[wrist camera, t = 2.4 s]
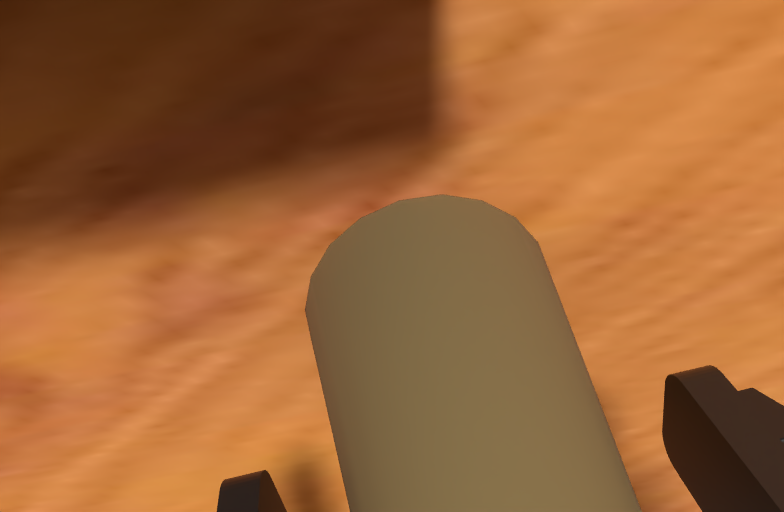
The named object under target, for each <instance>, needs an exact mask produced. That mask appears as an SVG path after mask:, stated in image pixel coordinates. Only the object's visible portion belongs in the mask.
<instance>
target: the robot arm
mask: <svg viewBox="0 0 784 512" xmlns="http://www.w3.org/2000/svg"><path fill="white" fill-rule="evenodd" d="M662 435H663V441H664V445H665V448H666V451H667V454H668V457H669V459H670V461H671V463H672V465H673V467H674V468H675V470H676V471H677V473H678V474H679V476H680V478H681V479H682V481H683V482H684V484H685V485H686V487H687V488H688V490H689V491H690V493H691V495H692V496H693V498H694V499H695V501H696V502H697V504H698V505H699V507H700V508H701V510H702V512H784V406H783V405H781V404H779V403H778V402H776V401H774V400H773V399H771V398H769V397H768V396H766V395H764V394H762V393H761V392H759V391H757V390H756V389H754V388H749V389H745V390H741V391H737V390H736V388H735V387H734V386H733V385H732V384H731V383H730V382H729V380H728V379H727V378H726V377H725V376H724V375H723V374H722V373H721V372H720V371H719V370H718V369H717V368H716V367H714V366H711V365H709V366H704V367H700V368H696V369H692V370H687V371H683V372H679V373H675V374H671V375H668V376H667V378H666V380H665V393H664V410H663V428H662ZM217 512H287V511H286V509H285V507H284V504H283V502H282V500H281V498H280V496H279V494H278V492H277V489H276V487H275V485H274V483H273V481H272V479H271V477H270V475H269V473H268V472H267V471H266V470H263V471H259V472H254V473H250V474H246V475H242V476H238V477H234V478H229V479H225V480H224V481H223V482H222V484H221V487H220V492H219V499H218V506H217Z"/></svg>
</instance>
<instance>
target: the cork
mask: <svg viewBox="0 0 784 512" xmlns="http://www.w3.org/2000/svg"><path fill="white" fill-rule="evenodd" d="M305 312H306V317H307V322H308V326H309V331H310V336H311V340H312V345H313V349H314V354H315V358H316V362H317V367H318V371H319V376H320V380H321V385H322V389H323V393H324V398H325V402H326V407H327V411H328V415H329V420H330V424H331V429H332V433H333V438H334V442H335V446H336V451H337V455H338V460H339V464H340V468H341V473H342V477H343V482H344V486H345V491H346V495H347V499H348V504H349V508H350V512H642V511H641V508H640V506H639V503H638V500H637V498H636V495H635V493H634V490H633V487H632V485H631V482H630V480H629V477H628V475H627V472H626V469H625V467H624V464H623V462H622V459H621V456H620V454H619V451H618V449H617V446H616V443H615V441H614V438H613V436H612V433H611V430H610V428H609V425H608V423H607V420H606V417H605V415H604V412H603V410H602V407H601V404H600V402H599V399H598V397H597V394H596V391H595V389H594V386H593V384H592V381H591V379H590V376H589V373H588V371H587V368H586V366H585V363H584V360H583V358H582V355H581V353H580V350H579V347H578V345H577V342H576V340H575V337H574V334H573V332H572V329H571V327H570V324H569V321H568V319H567V316H566V314H565V311H564V308H563V306H562V303H561V301H560V298H559V295H558V293H557V290H556V288H555V285H554V283H553V280H552V277H551V275H550V272H549V270H548V267H547V264H546V262H545V259H544V257H543V254H542V251H541V249H540V246H539V244H538V242H537V241H536V240H535V239H534V238H533V236H532V235H531V234H530V233H529V232H528V231H527V230H526V229H525V228H524V226H523V225H522V224H521V223H520V222H519V221H518V220H517V219H516V218H515V217H513V216H511V215H509V214H508V213H506V212H504V211H502V210H500V209H498V208H496V207H494V206H492V205H490V204H488V203H486V202H484V201H482V200H475V199H469V198H462V197H455V196H449V195H435V196H428V197H421V198H414V199H407V200H400V201H397V202H395V203H393V204H391V205H389V206H386V207H384V208H382V209H380V210H378V211H375V212H373V213H371V214H369V215H366V216H364V217H362V218H360V219H359V220H358V221H357V222H356V223H354V224H353V225H352V226H351V227H350V228H349V229H347V230H346V231H345V232H344V233H343V234H342V235H341V236H339V237H338V238H337V239H336V240H335V241H334V242H333V243H331V244H330V245H329V247H328V249H327V250H326V252H325V254H324V256H323V257H322V259H321V261H320V262H319V264H318V266H317V267H316V269H315V271H314V272H313V274H312V276H311V279H310V285H309V290H308V296H307V301H306V307H305Z"/></svg>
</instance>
